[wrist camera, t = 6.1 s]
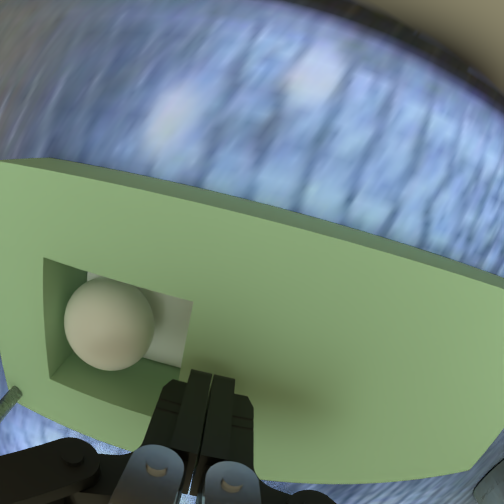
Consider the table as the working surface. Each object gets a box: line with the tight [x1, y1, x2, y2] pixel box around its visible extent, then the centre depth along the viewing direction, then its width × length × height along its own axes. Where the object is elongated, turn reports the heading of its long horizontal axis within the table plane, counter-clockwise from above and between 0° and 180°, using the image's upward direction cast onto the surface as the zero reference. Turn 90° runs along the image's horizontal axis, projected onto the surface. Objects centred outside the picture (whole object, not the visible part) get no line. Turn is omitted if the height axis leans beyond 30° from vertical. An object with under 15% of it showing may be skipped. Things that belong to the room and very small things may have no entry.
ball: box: [64, 277, 155, 371], centre depth 12 cm, size 4×4×4 cm
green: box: [0, 158, 504, 484], centre depth 13 cm, size 28×12×4 cm, turn 76°
